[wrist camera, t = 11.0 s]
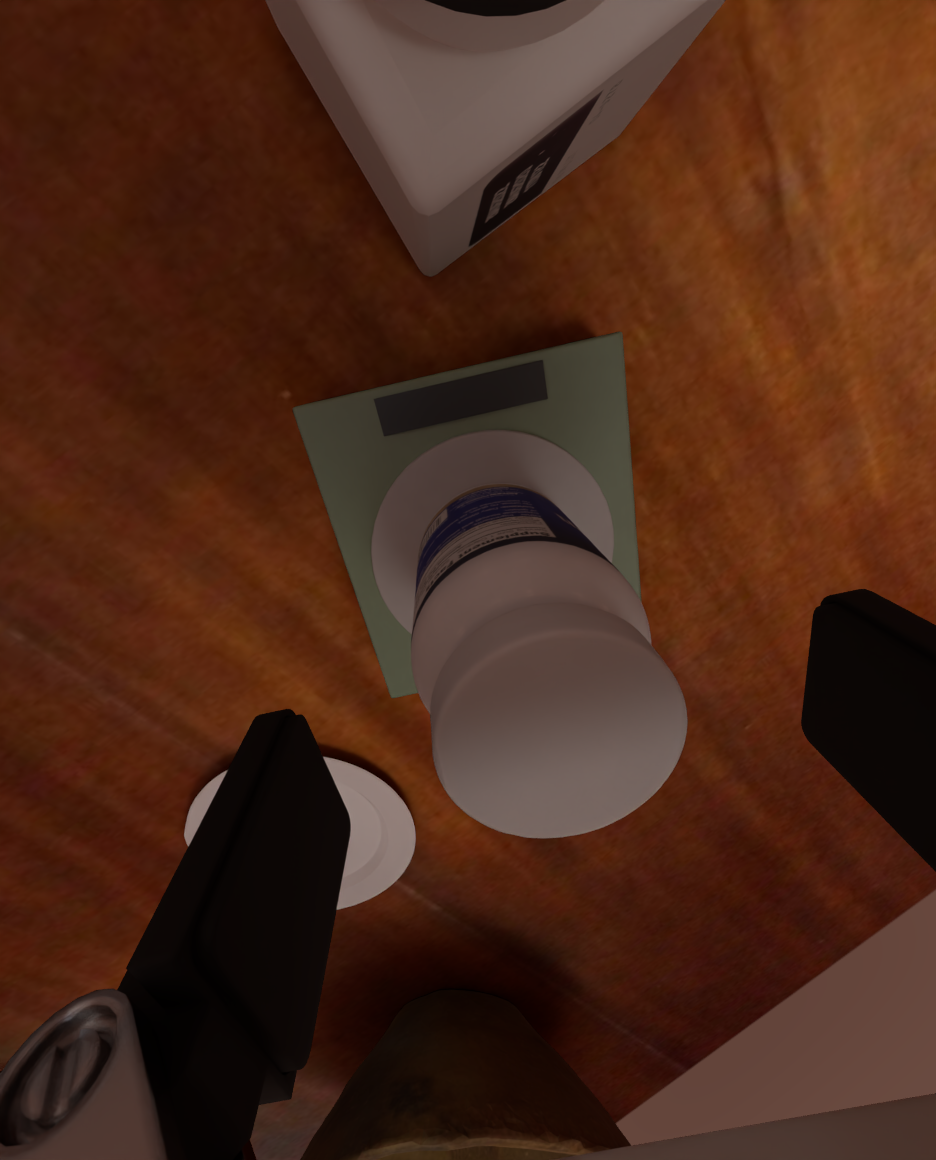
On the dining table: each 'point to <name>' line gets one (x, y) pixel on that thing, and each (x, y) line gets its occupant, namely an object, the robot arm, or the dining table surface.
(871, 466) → the dining table surface
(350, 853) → the candle holder
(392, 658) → the scale
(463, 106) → the container
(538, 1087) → the bowl
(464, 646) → the pill bottle
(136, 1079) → the robot arm
